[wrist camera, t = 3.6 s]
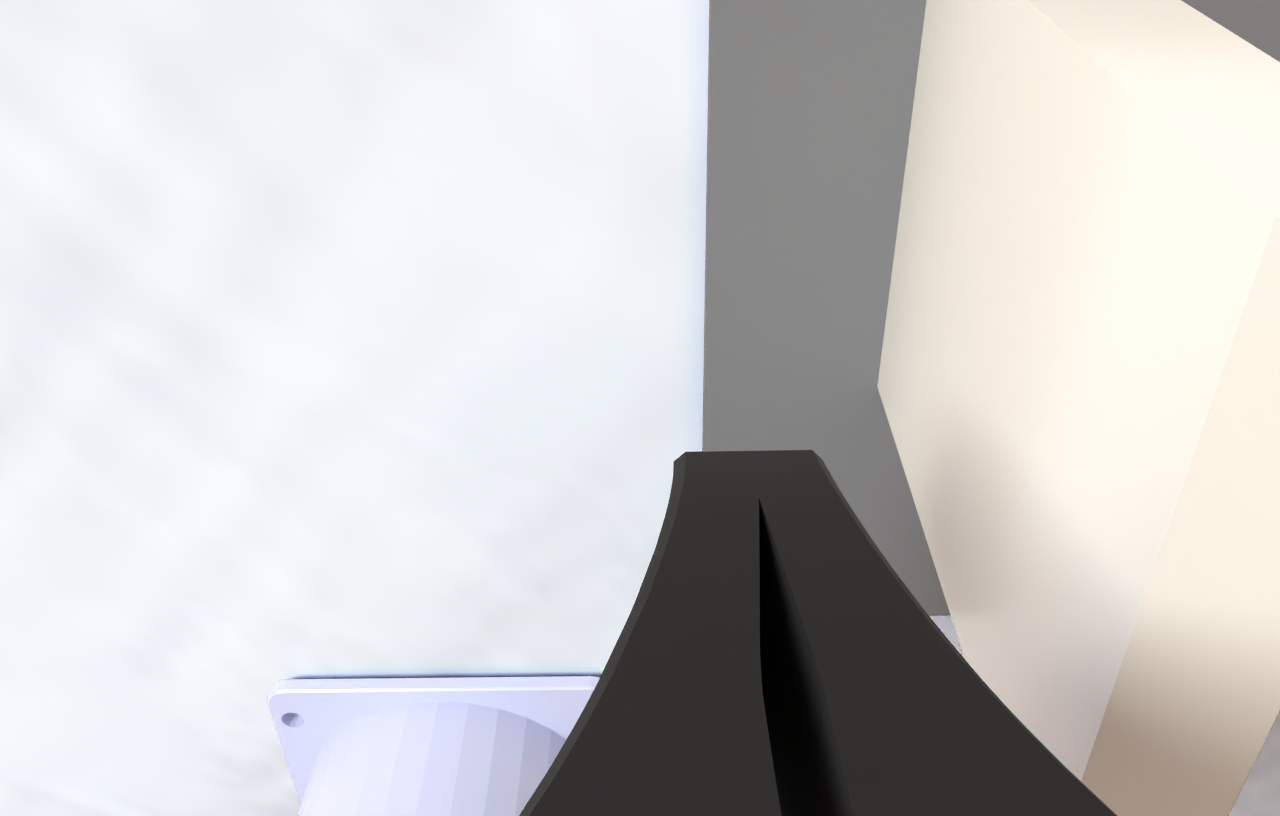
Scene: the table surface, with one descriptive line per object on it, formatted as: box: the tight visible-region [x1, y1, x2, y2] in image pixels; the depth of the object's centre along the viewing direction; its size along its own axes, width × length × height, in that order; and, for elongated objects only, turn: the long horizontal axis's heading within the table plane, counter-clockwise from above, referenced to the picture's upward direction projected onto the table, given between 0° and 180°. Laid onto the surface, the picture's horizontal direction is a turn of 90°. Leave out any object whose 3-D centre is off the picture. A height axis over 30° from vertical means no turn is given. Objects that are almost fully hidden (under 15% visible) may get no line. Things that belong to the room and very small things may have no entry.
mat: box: [702, 0, 1280, 616], centre depth 19 cm, size 16×16×1 cm
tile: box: [877, 0, 1280, 816], centre depth 13 cm, size 8×2×10 cm, turn 1°
